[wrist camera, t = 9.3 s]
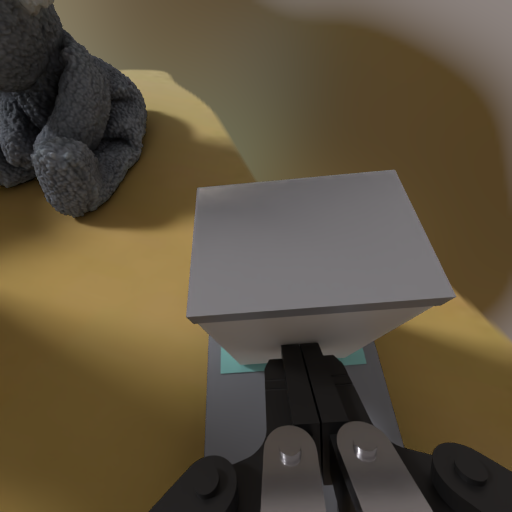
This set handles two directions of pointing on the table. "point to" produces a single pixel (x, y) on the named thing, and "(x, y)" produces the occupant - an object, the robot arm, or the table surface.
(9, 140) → the koala plush
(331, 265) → the slider tab
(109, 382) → the table surface
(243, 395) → the board
